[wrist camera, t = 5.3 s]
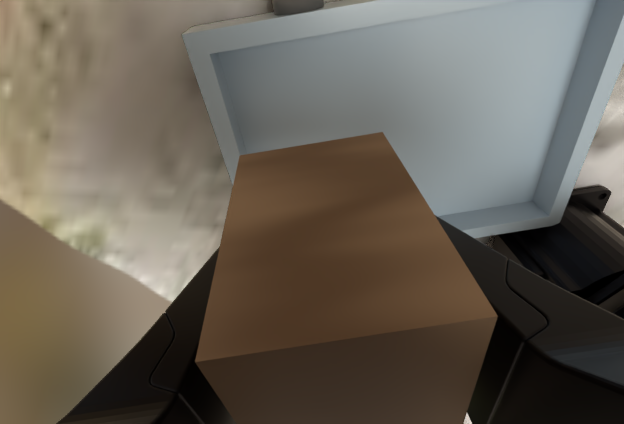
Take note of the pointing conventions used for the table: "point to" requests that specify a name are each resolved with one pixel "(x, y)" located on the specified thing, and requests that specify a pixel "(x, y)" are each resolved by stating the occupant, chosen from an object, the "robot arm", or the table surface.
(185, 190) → the table surface
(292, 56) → the cart
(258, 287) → the walnut block
